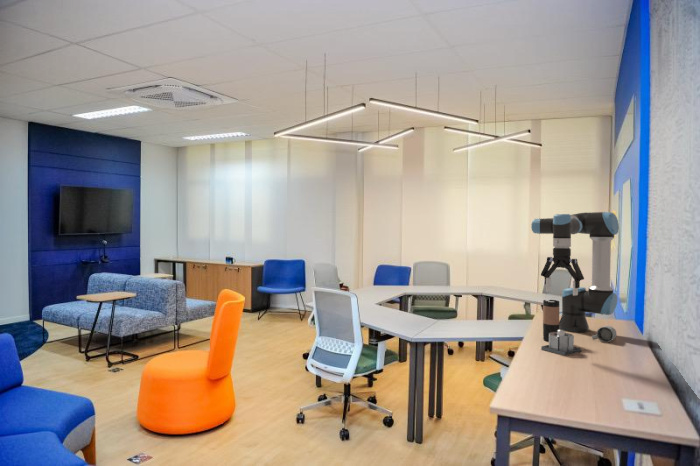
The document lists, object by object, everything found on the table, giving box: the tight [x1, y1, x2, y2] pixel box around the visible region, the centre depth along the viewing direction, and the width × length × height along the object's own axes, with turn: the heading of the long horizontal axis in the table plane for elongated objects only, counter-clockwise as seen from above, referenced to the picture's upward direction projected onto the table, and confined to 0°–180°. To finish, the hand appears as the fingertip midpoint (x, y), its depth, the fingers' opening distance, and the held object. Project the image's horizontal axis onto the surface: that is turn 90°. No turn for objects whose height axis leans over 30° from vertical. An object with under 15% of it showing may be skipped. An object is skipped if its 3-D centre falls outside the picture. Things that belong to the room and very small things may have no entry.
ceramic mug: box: [591, 325, 617, 343], centre depth 235 cm, size 11×8×8 cm
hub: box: [548, 332, 575, 350], centre depth 217 cm, size 10×10×6 cm
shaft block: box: [540, 329, 582, 357], centre depth 217 cm, size 12×12×10 cm
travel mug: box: [542, 299, 560, 343], centre depth 235 cm, size 8×8×20 cm
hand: (561, 293), depth 216 cm, fingers open, 13 cm apart
